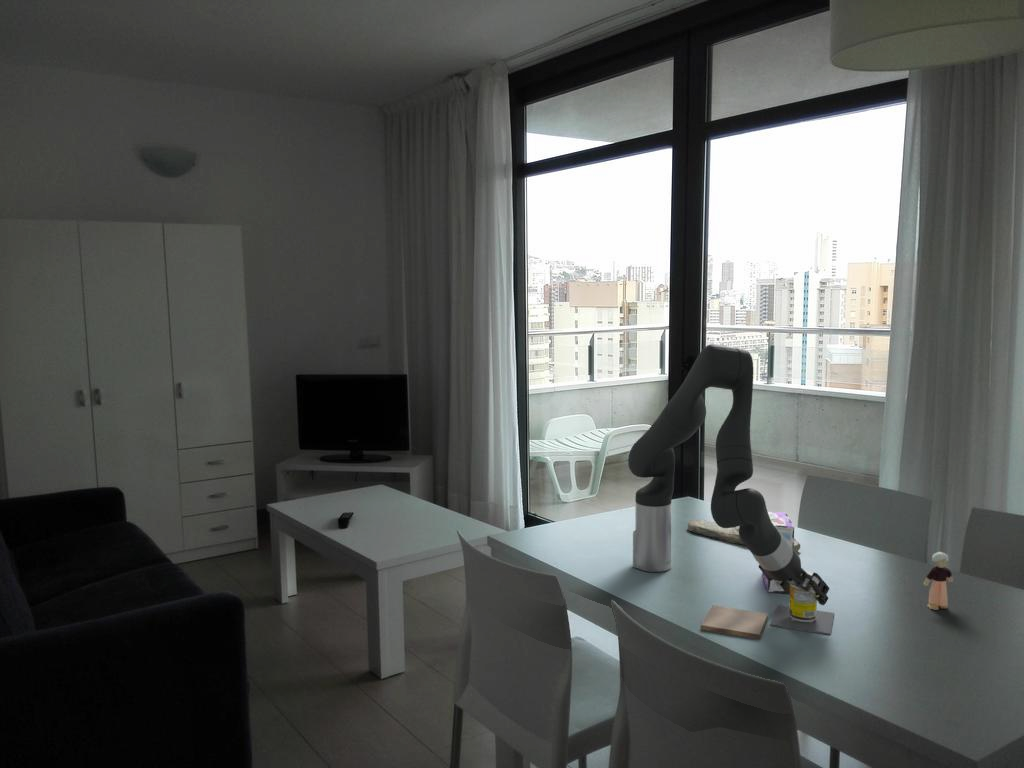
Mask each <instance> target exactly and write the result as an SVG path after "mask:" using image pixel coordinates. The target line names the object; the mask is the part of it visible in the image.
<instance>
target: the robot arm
mask: <svg viewBox="0 0 1024 768" xmlns="http://www.w3.org/2000/svg"><path fill="white" fill-rule="evenodd" d="M753 361H754V360H753V357H752V354H751V353H750V351H749V350H747V349H745V348H742V347H737V346H728V345H724V344H723V345H722V344H716V343H714V344H713V343H711V344H707V345H706V346H705V347H703V348H702V350H701V351H700V353H699V354H698V355H697V357H696V359H695V361H694V363H693V364H692V366H691V368H690V370H689V372H688V373H687V376H686V377H685V378H684V381H683V382H682V384H681V385H680V386H679V388H678V389H677V391H676V392H675V393H674V395H673V396H672V397H671V399H669V401H668V403H667V404H666V405H665V407H664V408H663V410H662V411H661V412H660V414H659V416H658V417H657V418H656V419H655V421H654V422H653V423H652V425H651V426H650V427H649V428H648V429H647V430H646V432H645V433H644V434H643V435H642V436H640V437H639V438H638V439H637V440H636V441H635V442H634V443H633V445H632V446H631V448H630V450H629V454H628V456H627V457H628V461H627V464H628V469H629V470H630V473H631V474H633V475H634V476H635V477H638V478H646V479H648V478H652V479H651V481H649V482H648V484H646V485H644V486H642V487H640V488H639V489H637V491H636V492H635V500H634V501H635V504H634V505H635V513H634V514H635V517H634V518H635V526H634V527H635V530H634V531H633V533H632V568H634V569H635V568H636V569H639V570H641V571H645V572H650V573H661V572H665V571H669V570H670V569H671V568H672V497H673V494H674V490H675V489H674V487H675V486H674V485H675V472H676V471H675V470H676V469H675V468H676V458H675V457H676V455H675V451H674V448H675V447H676V446H677V447H678V446H679V445H680V444H682V443H685V442H686V441H687V440H689V439H690V438H691V437H693V436H694V435H695V434H696V432H697V431H698V430H699V429H700V427H701V426H702V424H704V422H705V419H706V417H707V406H706V401H705V399H704V396H703V392H704V391H705V390H707V389H708V388H718V389H724V390H731V392H732V404H731V408H730V411H729V412H728V414H727V416H726V418H725V420H724V421H723V422H722V425H721V426H720V428H719V430H718V432H717V434H716V438H715V457H716V469H717V471H716V477H715V480H714V481H715V483H714V485H713V486H714V487H713V490H712V495H711V499H710V514H711V517H712V519H713V522H715V523H716V524H717V525H718V526H720V527H722V528H733V527H739V536H740V538H741V540H742V541H743V543H744V544H745V545H744V546H746V548H747V549H748V550H749V552H751V554H752V556H753V559H755V561H756V562H757V563H758V568H759V570H760V571H761V572H763V574H764V575H765V576H766V578H767V579H768V580H770V581H772V580H775V583H776V584H778V585H780V586H781V587H782V588H783V590H784V591H785V592H786V593H785V594H789V595H790V584H792V585H795V586H796V587H798V588H799V589H801V590H802V591H804V592H809V593H810V594H812V595H813V596H814V597H815V598H816V600H817V603H819V605H820V606H821V605H822V606H825V604H827V602H828V600H829V597H828V595H827V594H828V593H829V591H830V586H828V584H827V583H826V582H825V581H824V580H823V578H822V577H821V575H819V573H817V572H812V573H813V574H812V576H811V575H809V574H808V573H806V572H805V571H804V570H805V569H804V568H802V561H801V557H800V556H799V554H798V553H797V552H795V550H794V549H793V548H792V546H791V545H790V544H789V542H788V541H787V540H786V539H785V537H784V536H783V535H782V534H780V533H779V531H778V530H777V529H776V528H775V526H774V525H773V524H772V522H771V520H770V517H769V514H768V512H769V511H768V509H767V503H766V499H765V498H764V496H763V494H762V493H761V492H760V491H758V490H757V489H755V488H749V487H748V488H742V489H737V490H736V488H737V487H738V486H739V485H740V484H742V483H744V482H746V481H749V480H750V479H751V478H752V476H753V475H754V464H753V453H752V444H751V418H752V405H753V392H754V391H753V390H754V389H753V388H754V362H753ZM805 580H807V581H808V582H807V584H806V586H805V587H804V586H802V584H803V583H804V581H805ZM811 587H812V588H813V589H814V590H815V591H813V590H811Z"/></svg>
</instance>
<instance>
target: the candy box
mask: <svg viewBox="0 0 1024 768" xmlns="http://www.w3.org/2000/svg"><path fill="white" fill-rule="evenodd" d="M768 514H769V517H770V520H771V522H772V524H773V525H774V526H775V528H776V529H777V530H778V531H779V533H780V534H782V535H783V536H784V537H785V539H786V540H787V541H788V542H789V544H790V545H791V546H792V548H793V549H794V539H795V526H794V524H793V522H792V521H791V519H790V517H789V515H788V514H787V512H784V511H783V512H782V511H768ZM761 572H762V571H761ZM761 574H762V575H761V576H762V577H763V581H764V583H765V585H766V589H767V593H776V594H777V593H779V594H782V593H783V594H787V593H786V592H785V591H784V590H783V588H782V587H781V586H780V585H778V584H776V583H775V580H772V581H770V580H768V579H767V578H766V576H765V575H764V574H763V572H762V573H761Z"/></svg>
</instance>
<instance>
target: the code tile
mask: <svg viewBox="0 0 1024 768" xmlns="http://www.w3.org/2000/svg"><path fill="white" fill-rule="evenodd" d="M775 607H776V608H775V610H774V613H773V615H772V618H771V621H770V624H769V626H771V627H777V628H782V629H789V630H796V631H803V632H807V633H815V634H821V635H828V636H831V633H832V628H833V623H834V617H835V612H831V611H830V612H829V611H822V610H817V616H816V620H815V621H813V622H799V621H796V620H793V619H792V618H791V617H790V614H789V610H790V605H789V606H787V605H781V604H777V605H776V606H775Z"/></svg>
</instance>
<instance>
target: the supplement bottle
mask: <svg viewBox="0 0 1024 768" xmlns="http://www.w3.org/2000/svg"><path fill="white" fill-rule="evenodd" d="M804 571H805V572H806V573H808V574H809V575H811V576H812V574H813V573H814V572H812V571H809V570H806V569H804ZM807 582H808V581H807V580H805V581H804V583H803V584H802V586H804V587H805V586H806V584H807ZM811 590H813V591H815V590H814V589H813V588H812V587H811ZM817 603H818V601H817V600H816V598H815V597H814V596H813V595H812V594H810V593H809V592H804V591H802V590H801V589H799V588H798V587H796V586H795V585H792V584H790V594H789V606H790V610H789V614H790V617H791V618H792V619H793V620H796V621H799V622H813V621H815V620H816V616H817V611H818V608H817V606H818V604H817Z"/></svg>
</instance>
